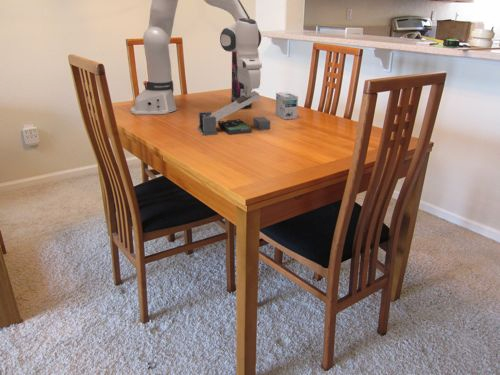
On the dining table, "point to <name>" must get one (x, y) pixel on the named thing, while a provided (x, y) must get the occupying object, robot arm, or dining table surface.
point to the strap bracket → (209, 123)
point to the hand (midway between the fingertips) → (248, 96)
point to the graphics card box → (236, 85)
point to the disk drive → (234, 127)
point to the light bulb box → (286, 105)
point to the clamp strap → (235, 105)
